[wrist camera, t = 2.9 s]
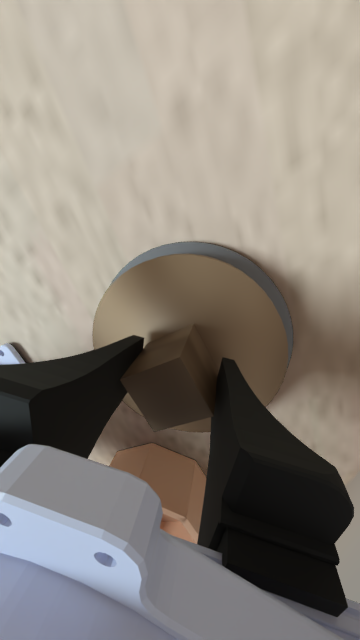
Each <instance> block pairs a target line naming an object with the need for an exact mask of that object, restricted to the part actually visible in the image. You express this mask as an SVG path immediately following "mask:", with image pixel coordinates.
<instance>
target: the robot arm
mask: <svg viewBox="0 0 360 640" xmlns="http://www.w3.org/2000/svg"><path fill="white" fill-rule="evenodd" d="M143 346H144V337H140V336H136V335H132V336H129V337H127V338H124V339H122V340H119V341H117V342H114V343H112V344H109V345H107V346H104V347H101V348H98V349H95V350H92V351H89V352H86V353H83V354H79V355H75V356H71V357H66V358H61V359H55V360H49V361H43V362H34V363H25V362H24V360H23V359H22V358H21V356H20V355H19V354H18V352H17V351H16V350H15V348H14V347H13V346H12V345H11V344H8V343H6V344H4V345H2V346H0V640H360V603H357V602H355V601H352V600H349V599H346V598H345V595H344V592H343V588H342V585H341V582H340V579H339V575H338V572H337V569H336V566H335V565H338V564H339V556H338V553H337V550H336V547H335V544H334V543H335V542H336V541H337V540H338V538H339V537H340V536H341V534H342V533H343V532H344V531H345V529H346V528H347V527H348V526H349V524H350V522H351V520H352V518H353V516H354V507H353V504H352V502H351V500H350V497H349V495H348V493H347V490H346V488H345V485H344V483H343V481H342V479H341V477H340V475H339V473H338V471H337V469H336V467H334V466H333V465H331V464H330V463H329V462H327V461H326V460H325V459H323V458H322V457H320V456H319V455H318V454H316V453H315V452H314V451H312V450H311V449H309V448H308V447H307V446H306V445H304V444H303V443H302V442H301V441H300V440H298V439H297V438H296V437H295V436H294V435H292V434H291V433H290V432H289V431H288V430H287V429H286V428H285V427H284V426H283V425H282V424H281V423H280V422H279V421H278V420H277V419H276V418H275V417H274V416H273V415H272V414H271V413H270V412H269V411H268V410H267V409H266V408H265V406H264V405H263V404H262V403H261V402H260V400H259V399H258V398H257V396H256V395H255V394H254V392H253V391H252V389H251V388H250V386H249V385H248V383H247V382H246V380H245V378H244V377H243V375H242V373H241V371H240V369H239V367H238V366H237V364H236V362H235V360H232V359H228V358H224V357H223V358H222V361H221V365H220V369H219V372H218V376H217V384H216V398H215V409H214V416H213V417H211V435H210V455H209V463H208V471H207V478H206V486H205V493H204V500H203V507H202V514H201V521H200V528H199V535H198V542H197V544H195V543H192V542H189V541H187V540H184V539H181V538H178V537H175V536H173V535H170V534H169V533H167V532H165V531H164V530H162V529H160V524H161V519H162V515H163V511H162V506H161V501H160V498H159V496H158V495H157V493H156V492H155V491H154V490H153V489H152V488H151V487H150V486H149V484H148V483H147V482H145V481H143V480H142V479H140V478H138V477H136V476H134V475H132V474H130V473H128V472H125V471H122V470H119V469H116V468H113V467H110V466H107V465H104V464H101V463H98V462H95V461H92V460H89V459H88V457H89V455H90V453H91V451H92V449H93V447H94V445H95V443H96V442H97V440H98V438H99V436H100V434H101V432H102V431H103V429H104V427H105V425H106V423H107V422H108V420H109V419H110V417H111V415H112V414H113V413H114V411H115V410H116V408H117V407H118V405H119V404H120V403H121V401H122V400H123V398H124V397H125V395H126V394H127V390H126V389H125V387H124V386H123V384H122V383H121V381H120V379H121V377H122V376H123V375H124V373H125V372H126V371H127V370H128V368H129V367H130V366H131V364H132V363H133V362H134V360H135V359H136V358H137V357H138V355H139V354H140V353H141V351H142V350H143Z"/></svg>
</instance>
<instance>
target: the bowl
mask: <svg viewBox="0 0 360 640" xmlns="http://www.w3.org/2000/svg"><path fill="white" fill-rule="evenodd" d="M110 467H113V468H116V469H119V470H122V471H125V472H128V473H130V474H132V475H134V476H136V477H138V478H140V479H142V480H143V481H145V482H147V483H148V484H149V486H150V487H151V488H152V489H153V490H154V491H155V492H156V493H157V495H158V496H159V498H160V501H161V506H162V511H163V515H162V519H161V524H160V529H162V530H164V531H165V532H167V533H169V534H170V535H173V536H175V537H178V538H181V539H184V540H187V541H189V542H192V543H195V544H197V542H198V535H199V528H200V521H201V514H202V507H203V500H204V493H205V486H206V476H205V475H204V473H203V472H202V470H201V468H200V467H199V465H198V464H197V462H196V461H195V460H193V459H190V458H188V457H185V456H183V455H180V454H178V453H176V452H173V451H171V450H168V449H166V448H163V447H161V446H159V445H156V444H154V443H150V444H146V445H142V446H138V447H133V448H129V449H125V450H121V451H117V453H116V455H115V456H114V458H113V460H112V462H111V464H110Z"/></svg>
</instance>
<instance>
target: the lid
mask: <svg viewBox="0 0 360 640" xmlns="http://www.w3.org/2000/svg"><path fill="white" fill-rule="evenodd" d="M132 335H136V336H140V337H144V346H143V350H142V351H141V353H140V354H139V355H138V357H137V358H136V359H135V360H134V362H133V363H132V364H131V366H130V367H129V368H128V370H127V371H126V372H125V373H124V375H123V376H122V377H121V379H120V381H121V383H122V384H123V386H124V387H125V389H126V390H127V394H126V395H125V397H124V398H123V400H122V401H123V402H124V403H125V404H127V405H128V406H129V407H130V408H131V409H133V410H134V411H136V412H137V413H138V414H140V415H142V416H143V417H145V419H146V420H147V422H148V423H149V425H150V426H151V428H152V429H153V431H154V432H156V431H160V430H164V429H167V428H172V429H176V430H181V431H188V432H211V417H213V416H214V409H215V398H216V384H217V376H218V372H219V369H220V365H221V361H222V358H223V357H224V358H228V359H232V360H235V362H236V364H237V366H238V367H239V369H240V371H241V373H242V375H243V377H244V378H245V380H246V382H247V383H248V385H249V386H250V388H251V389H252V391H253V392H254V394H255V395H256V396H257V398H258V399H259V400H260V402H261V403H262V404H263V405H264V406H265V407H266V406H267V405H268V404H269V403H270V402H271V401H272V399H273V398H274V396H275V395H276V394H277V392H278V390H279V388H280V386H281V384H282V382H283V379H284V376H285V373H286V370H287V363H288V342H287V336H286V331H285V328H284V325H283V322H282V320H281V317H280V315H279V314H278V312H277V310H276V308H275V306H274V304H273V303H272V301H271V300H270V298H269V297H268V295H267V294H266V293H265V291H264V290H263V289H262V288H261V287H260V286H259V285H258V284H257V283H256V282H255V281H254V280H253V279H252V278H250V277H249V276H248V275H247V274H245V273H244V272H243V271H241V270H239V269H237V268H236V267H234V266H232V265H230V264H228V263H226V262H223V261H221V260H218V259H216V258H212V257H208V256H204V255H197V254H171V255H165V256H160V257H157V258H154V259H151V260H148V261H145V262H142V263H140V264H138V265H136V266H134V267H132V268H130V269H129V270H128V271H126V272H125V273H123V274H122V275H121V276H119V277H118V278H117V279H116V280H115V281H114V282H113V283H112V284H111V286H110V287H109V288H108V289H107V291H106V292H105V294H104V295H103V297H102V299H101V301H100V303H99V305H98V308H97V311H96V314H95V318H94V323H93V346H94V350H95V349H98V348H101V347H104V346H107V345H109V344H112V343H114V342H117V341H119V340H122V339H124V338H127V337H129V336H132Z"/></svg>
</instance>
